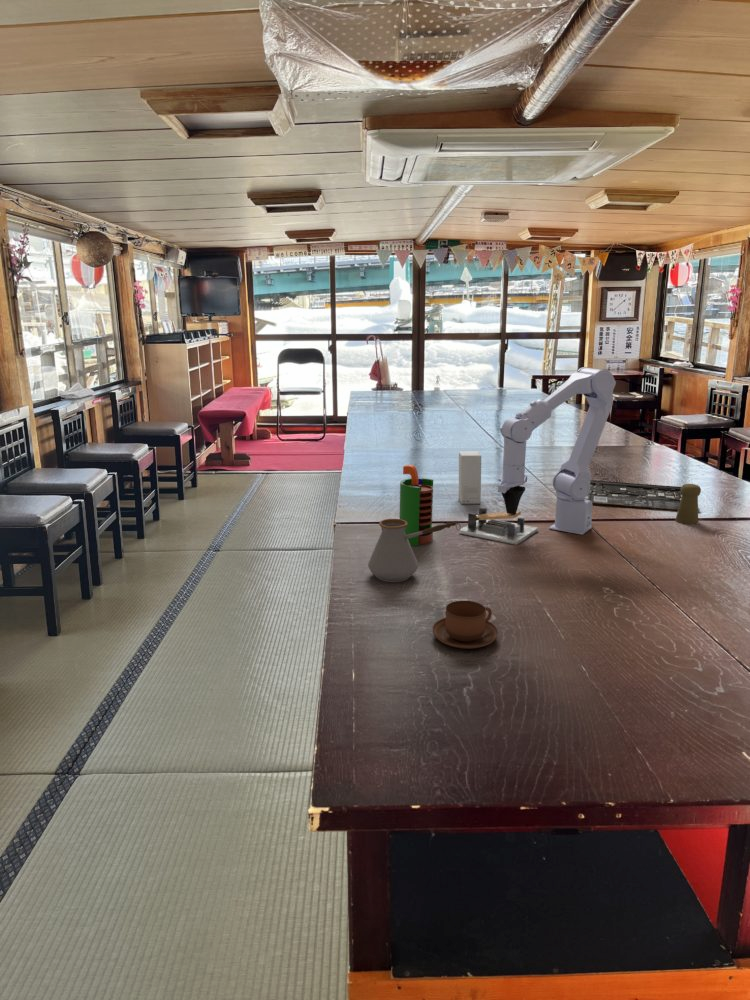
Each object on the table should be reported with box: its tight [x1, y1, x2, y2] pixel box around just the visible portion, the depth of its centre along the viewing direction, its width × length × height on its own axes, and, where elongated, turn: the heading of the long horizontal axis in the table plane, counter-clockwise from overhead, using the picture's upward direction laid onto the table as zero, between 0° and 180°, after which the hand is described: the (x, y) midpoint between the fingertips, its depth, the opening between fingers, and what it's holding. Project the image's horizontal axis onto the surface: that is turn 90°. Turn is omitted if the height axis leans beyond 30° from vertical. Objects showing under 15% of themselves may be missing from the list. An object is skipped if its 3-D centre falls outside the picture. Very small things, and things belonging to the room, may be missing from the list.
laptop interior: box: [585, 479, 700, 512], centre depth 221 cm, size 35×28×2 cm
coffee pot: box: [367, 518, 462, 583], centre depth 153 cm, size 21×12×15 cm, turn 66°
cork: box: [674, 483, 702, 525], centre depth 194 cm, size 6×6×11 cm
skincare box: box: [458, 450, 482, 505], centre depth 216 cm, size 8×7×16 cm
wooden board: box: [476, 511, 522, 520], centre depth 186 cm, size 13×5×1 cm, turn 55°
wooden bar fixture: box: [458, 507, 539, 546], centre depth 186 cm, size 17×14×5 cm
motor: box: [399, 464, 434, 547], centre depth 179 cm, size 10×9×20 cm
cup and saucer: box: [432, 600, 499, 650], centre depth 126 cm, size 12×12×6 cm
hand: (511, 513), depth 183 cm, fingers closed, pressing on wooden board
